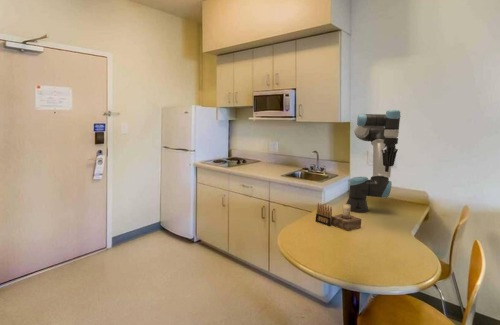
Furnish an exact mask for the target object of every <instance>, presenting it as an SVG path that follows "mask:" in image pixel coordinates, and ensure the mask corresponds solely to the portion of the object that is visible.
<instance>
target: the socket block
mask: <svg viewBox="0 0 500 325" xmlns="http://www.w3.org/2000/svg"><path fill="white" fill-rule="evenodd" d="M332 226H334V227H336V228H338V229H341V230H343V231H347V232H348V231H351V230H356V229H359V228H361V227H362V218H360V217H357V216H353V215H351V214H350V219H348V220H347V219H344V218H343V213H340V214H335V215H332Z"/></svg>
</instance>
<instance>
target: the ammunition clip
mask: <svg viewBox="0 0 500 325" xmlns="http://www.w3.org/2000/svg"><path fill="white" fill-rule="evenodd" d="M332 208H333V207H332V206H329V205H327V204H324V203H320V202H318V203H317V205H316V213H315V222H317V223H320V224H322V225H326V226H328V227H332V226H333V225H332V216H333V212H332V210H333V209H332Z"/></svg>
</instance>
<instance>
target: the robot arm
mask: <svg viewBox="0 0 500 325" xmlns="http://www.w3.org/2000/svg"><path fill="white" fill-rule="evenodd" d="M385 112H386V113H383V114H381V113H379V114H377V113H373V114H372V113H371V114H370V113H369V114H368V113H362V114H361V113H359V114H358V115H357V117H356V118H357V119H356V127H355V129H354V135H355V137H356V138H358V139H359V140H361V141H363V142H370V144H371V146H372V150H373V152H372V176H371V177H370V179H369V178H368V177H367V176H354V177H352V178H350V179H349V184H348V186H349V191H348V192H349V193H348V199H347V201H346V202H345V204H350V205H351V209H350V212H353V213H367V212H368V211H369V207H368V203H367V202H368V201H367V197H371V198H372V197H374V198H388V197H389V196H390V193H391V190H392V181H391V180H389V178H391V172H392V167H394V165H395V161H396V157H397V153H398V150H399V149H398V148H396V147H397V146H396V145H398V143H399V138H398V137H399V133H400V132H399V130H400V124H401V123H400V122H401V111H400V110H397V109H396V110H394V109H393V110H392V109H389V110H386V111H385Z"/></svg>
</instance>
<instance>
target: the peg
mask: <svg viewBox="0 0 500 325" xmlns="http://www.w3.org/2000/svg"><path fill="white" fill-rule="evenodd" d="M342 206H343V208H342V211H343V212H342V214H343V218H344V219H347V220H348V219H350V215H351V211H350V209H351V205H350V204H346V203H344V204H343V205H342Z"/></svg>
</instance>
